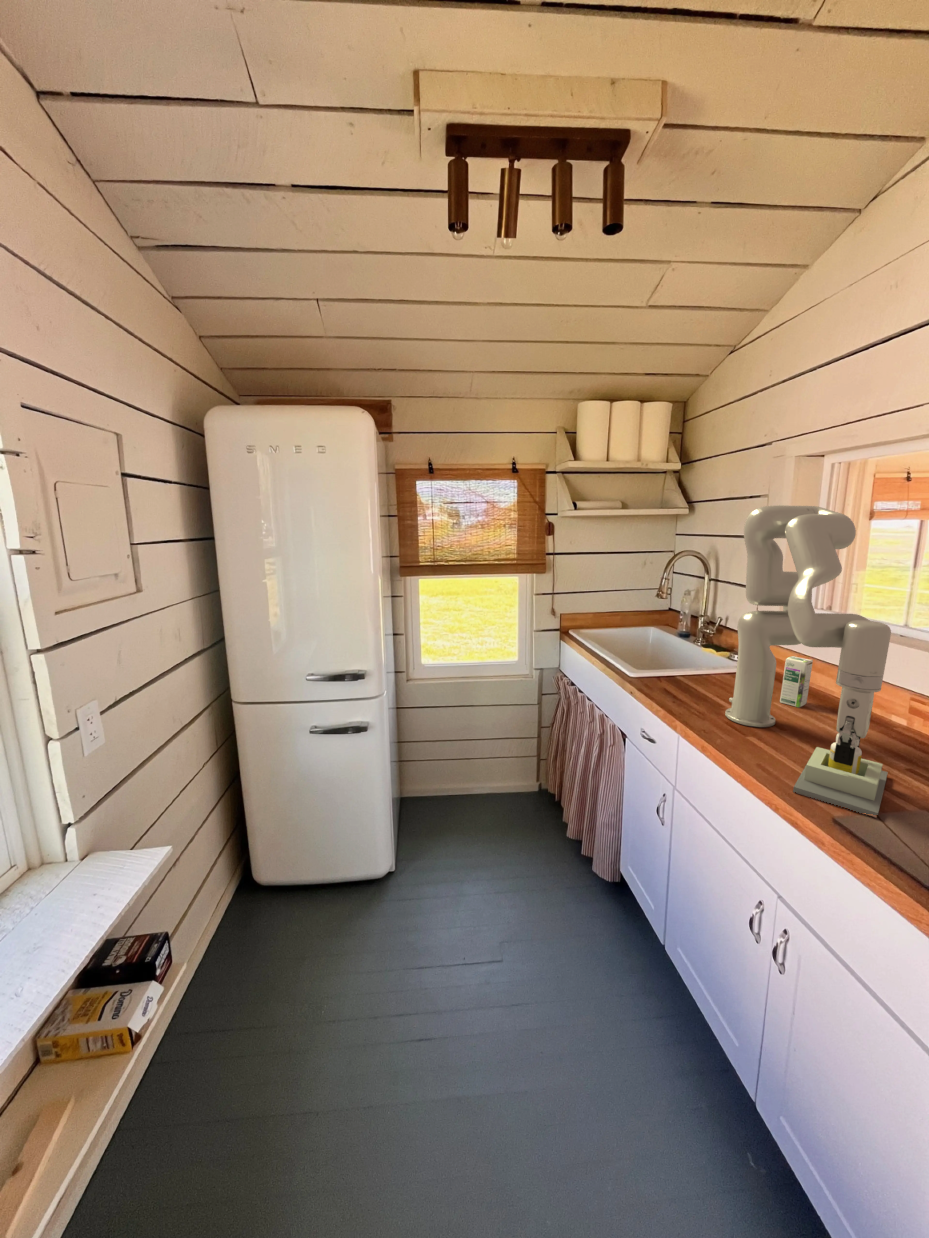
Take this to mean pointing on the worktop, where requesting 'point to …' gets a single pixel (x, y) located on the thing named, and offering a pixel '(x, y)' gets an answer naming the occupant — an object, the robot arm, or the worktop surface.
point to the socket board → (841, 795)
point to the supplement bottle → (851, 769)
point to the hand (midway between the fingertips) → (846, 755)
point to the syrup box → (796, 681)
